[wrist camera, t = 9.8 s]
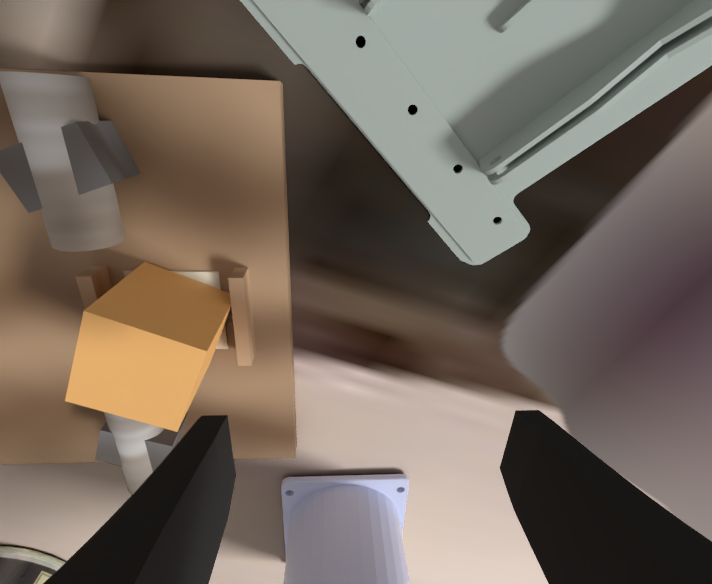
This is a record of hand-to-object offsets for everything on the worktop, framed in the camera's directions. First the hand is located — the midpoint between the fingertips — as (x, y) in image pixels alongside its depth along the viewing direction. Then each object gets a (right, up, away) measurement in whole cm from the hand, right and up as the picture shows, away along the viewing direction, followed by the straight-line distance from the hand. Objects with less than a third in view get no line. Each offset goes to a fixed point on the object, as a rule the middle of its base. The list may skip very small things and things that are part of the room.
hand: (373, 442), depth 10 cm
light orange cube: (-9, +3, +8) cm, 12 cm away
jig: (-13, +3, +8) cm, 16 cm away
